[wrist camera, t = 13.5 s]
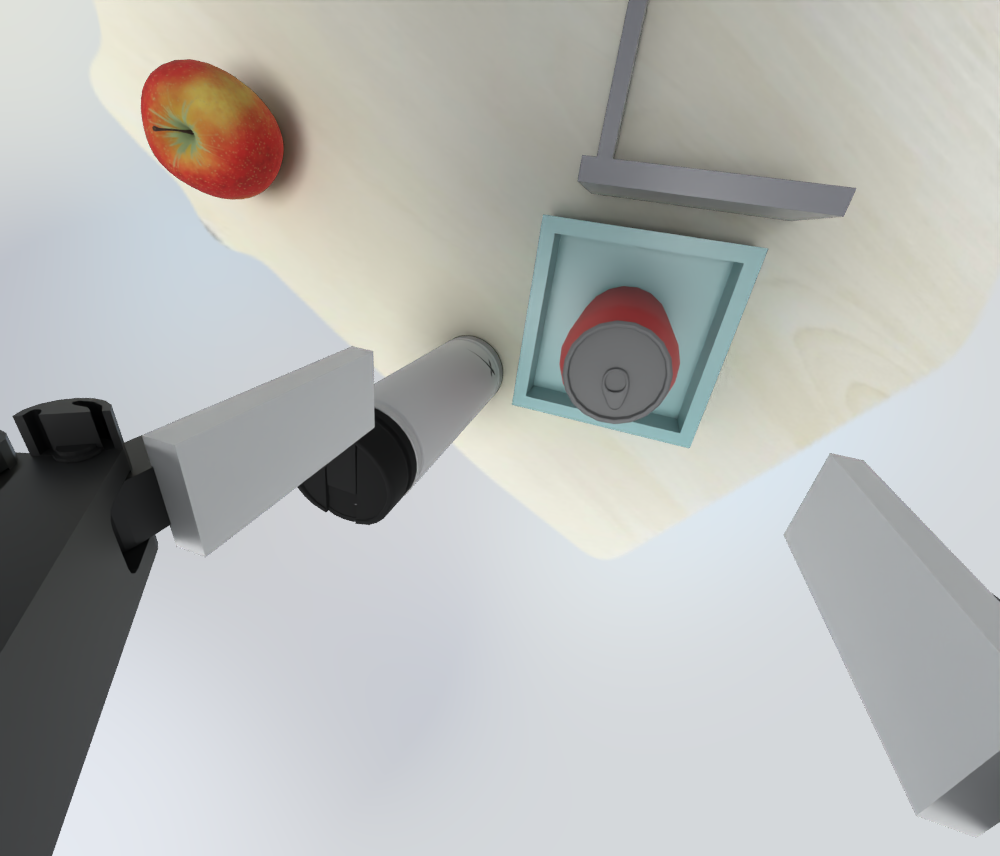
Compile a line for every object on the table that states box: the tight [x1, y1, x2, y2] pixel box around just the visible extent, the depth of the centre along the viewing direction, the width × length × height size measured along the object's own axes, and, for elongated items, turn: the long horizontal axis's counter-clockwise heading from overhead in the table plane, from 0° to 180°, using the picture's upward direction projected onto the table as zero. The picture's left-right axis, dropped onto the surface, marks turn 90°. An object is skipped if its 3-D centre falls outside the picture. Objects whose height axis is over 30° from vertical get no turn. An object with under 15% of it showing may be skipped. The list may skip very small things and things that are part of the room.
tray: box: [512, 215, 768, 448], centre depth 31 cm, size 14×14×3 cm
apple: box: [141, 59, 284, 199], centre depth 31 cm, size 8×8×10 cm
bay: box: [578, 0, 856, 221], centre depth 22 cm, size 14×13×8 cm
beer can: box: [559, 286, 680, 424], centre depth 27 cm, size 7×7×12 cm
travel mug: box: [298, 336, 503, 525], centre depth 29 cm, size 6×7×20 cm
